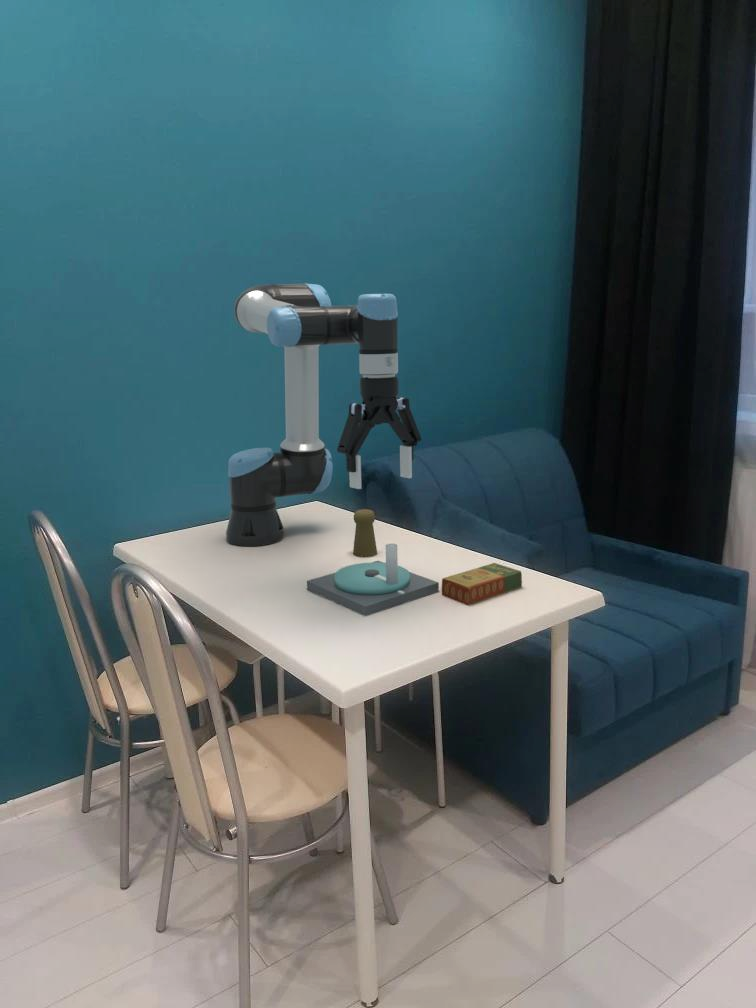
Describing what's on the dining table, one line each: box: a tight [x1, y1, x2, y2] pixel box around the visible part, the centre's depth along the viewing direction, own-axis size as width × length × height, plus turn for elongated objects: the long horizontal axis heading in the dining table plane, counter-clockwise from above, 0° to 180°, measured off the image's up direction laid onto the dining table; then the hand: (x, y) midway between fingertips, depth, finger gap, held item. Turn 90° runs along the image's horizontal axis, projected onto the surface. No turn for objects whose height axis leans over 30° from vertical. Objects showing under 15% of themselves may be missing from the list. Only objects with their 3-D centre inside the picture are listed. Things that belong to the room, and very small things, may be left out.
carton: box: [441, 562, 523, 606], centre depth 165 cm, size 8×16×4 cm, turn 129°
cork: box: [352, 508, 378, 558], centre depth 190 cm, size 6×6×11 cm
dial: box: [334, 543, 410, 595], centre depth 165 cm, size 16×16×10 cm
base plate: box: [306, 560, 440, 617], centre depth 166 cm, size 20×20×2 cm
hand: (381, 482), depth 157 cm, fingers open, 13 cm apart
